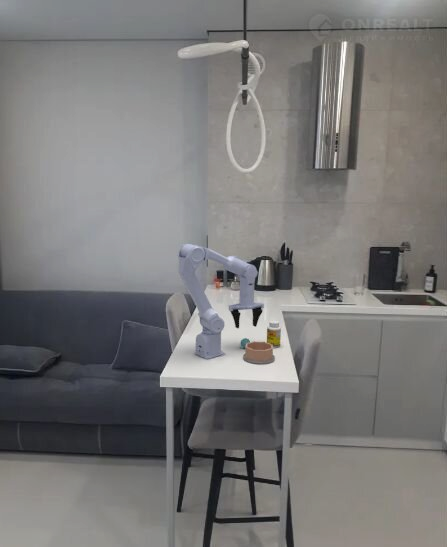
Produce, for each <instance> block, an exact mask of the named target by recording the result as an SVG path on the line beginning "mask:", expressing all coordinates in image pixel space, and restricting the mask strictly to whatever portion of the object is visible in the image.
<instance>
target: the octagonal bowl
mask: <svg viewBox="0 0 447 547" xmlns="http://www.w3.org/2000/svg"><path fill="white" fill-rule="evenodd" d="M244 349H245V351H244V352H245V353H244V354H243V355H242V360H243V361H245V363H249V364H253V365H268V364H271V363H274V362H275V360H276V356H275V355H274V351H273V350H274V348H273V345H272V344H269V343H267V341H255V340H253V341H250V343H246V347H245V348H244Z"/></svg>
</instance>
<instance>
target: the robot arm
mask: <svg viewBox="0 0 447 547" xmlns="http://www.w3.org/2000/svg"><path fill="white" fill-rule="evenodd" d="M177 257H178V274H179V276H180V278H181V281H182V282H183V283H184V285H185V288H186V290H187V291H188V293H189V295H190V298H191V299H192V301H193V303H194V305H195V307H196V309H197V310H198V314H197V315H198V317H199V323H200V325H201V327H202V329H201V330H202V332H200V333H199V334H197V335H196V337H195V351H194V354H195V355H198V356H199V357H202V358H203V359H205V360H209V359H213V358H216V357H219V356H224V355H226V352H225V351H222V349H221V348H222V346H221V345H222V331H223V330H224V328H225V321H224V319H223V318H222V317H221V316H219V314H218V313H217V312H216V311H215V309H214V308H213V307H212V304H211V303H210V300H209V299H208V297H207V294H206V293H205V290H204V288H203V287H202V285H201V283H200V281H199V278H198V277H197V275H196V270H197V268H198V267H199V266H200V265H201V264H202V262H203V261H207V260H210V261H213V262H215V263H218V264H220V265H222V266H223V267H224V270H225V271H229V272H230V273H233V274H234V275H237V276H239V300H238V301H239V303H235V304H229V305H228V311H229V312H230V314H231V316H232V319H233V321H234V327H235V328H236V329H240V319H241V318H240V317H241V312H240V311H241V310H251V312H252V326H253V327H257V325H258V321H259V318H260V316H261V315H262V313H263V309H264V308H265V303H263V302H254V300H255V282H256V278H257V276H258V274H259V272H258V270H257V267H256V266H255V264H250V263H248V261H247V260H243V259H239V258H238V256H237V255H235V254H234V255H229V256H227V257H226V256H225V255H222V254H220V253H219V252H217V251H214V250H213V249H211V248H208V247H203V246H200V245H195V244H192V243H184V244H182V245H181V246H180V248H179V250H178V253H177Z"/></svg>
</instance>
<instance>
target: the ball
mask: <svg viewBox="0 0 447 547" xmlns="http://www.w3.org/2000/svg"><path fill="white" fill-rule="evenodd" d="M250 342H251V340H250V339H249V338H247V337H245V338H242V339H241V340H240V347H242V348H243V349H245V347H246V343H250Z"/></svg>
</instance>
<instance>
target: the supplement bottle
mask: <svg viewBox="0 0 447 547" xmlns="http://www.w3.org/2000/svg"><path fill="white" fill-rule="evenodd" d="M281 328H282V327H281V325H280V321H278V320H270V321H269V323H268V325H267V329H266V342H267V343H269V344H272V345H273V349H274V348H275V349H276V348H279V347H280V345H281V336H282V335H281V334H282V333H281V332H282V329H281Z"/></svg>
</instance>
